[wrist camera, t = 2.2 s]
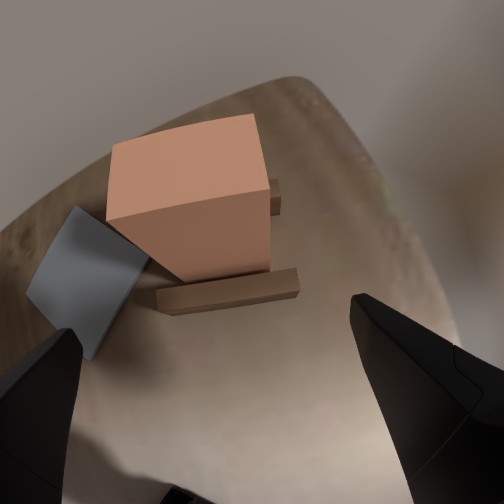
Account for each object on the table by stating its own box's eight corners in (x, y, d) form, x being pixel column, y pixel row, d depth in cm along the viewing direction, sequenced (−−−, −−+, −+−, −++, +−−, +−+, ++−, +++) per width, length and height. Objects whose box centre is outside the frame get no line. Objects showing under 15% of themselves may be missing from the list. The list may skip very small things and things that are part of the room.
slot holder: (296, 297, 20) (300, 289, 18) (172, 315, 21) (157, 311, 18) (276, 198, 23) (277, 178, 20) (165, 218, 23) (152, 201, 20)
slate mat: (91, 361, 20) (88, 361, 19) (28, 294, 22) (25, 293, 21) (151, 257, 22) (149, 255, 22) (78, 206, 24) (75, 204, 24)
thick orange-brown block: (270, 272, 21) (270, 188, 10) (188, 285, 21) (105, 220, 10) (261, 226, 22) (253, 113, 11) (184, 239, 22) (113, 145, 11)
